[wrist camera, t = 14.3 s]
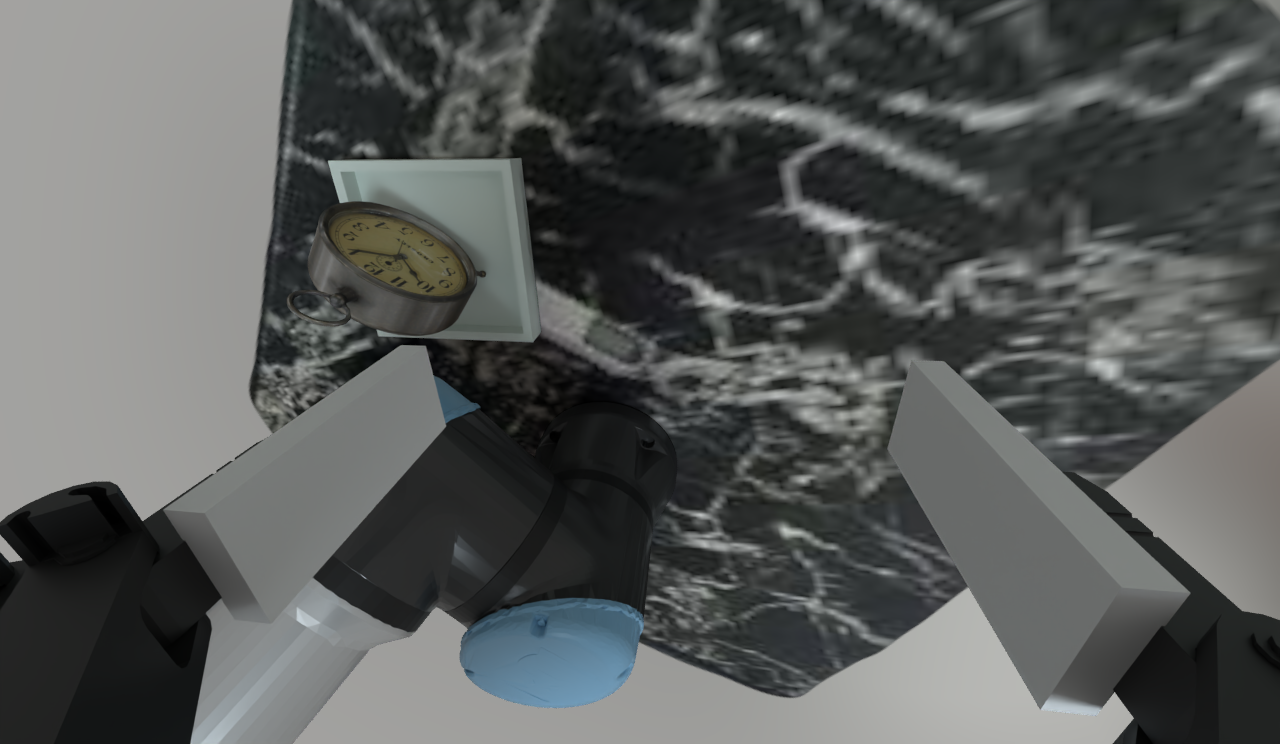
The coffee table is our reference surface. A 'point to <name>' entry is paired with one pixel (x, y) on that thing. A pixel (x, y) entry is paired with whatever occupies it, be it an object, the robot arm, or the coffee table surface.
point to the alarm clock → (388, 270)
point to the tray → (463, 231)
